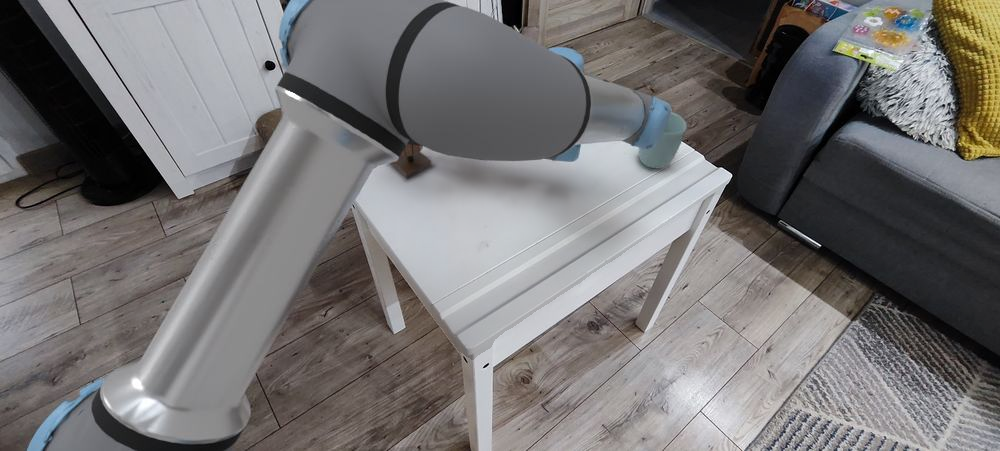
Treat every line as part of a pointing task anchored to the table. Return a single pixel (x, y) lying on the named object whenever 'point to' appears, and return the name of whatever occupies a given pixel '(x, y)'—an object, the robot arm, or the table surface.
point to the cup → (665, 144)
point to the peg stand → (411, 164)
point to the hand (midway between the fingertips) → (377, 111)
